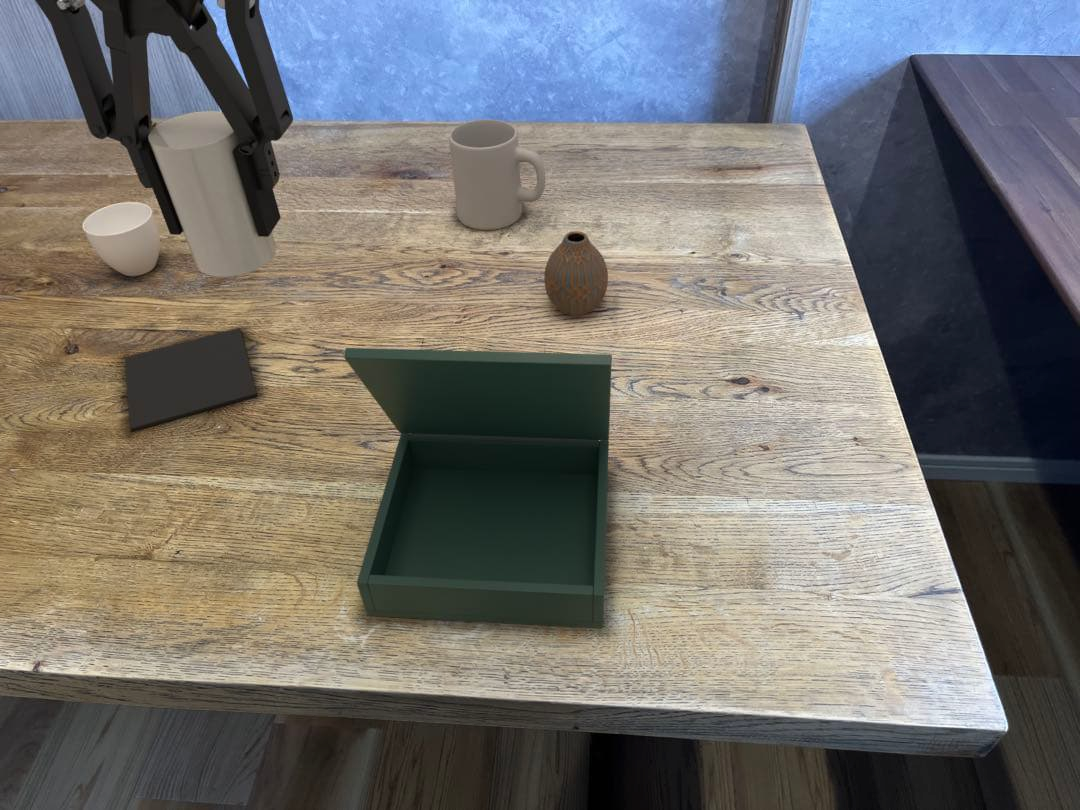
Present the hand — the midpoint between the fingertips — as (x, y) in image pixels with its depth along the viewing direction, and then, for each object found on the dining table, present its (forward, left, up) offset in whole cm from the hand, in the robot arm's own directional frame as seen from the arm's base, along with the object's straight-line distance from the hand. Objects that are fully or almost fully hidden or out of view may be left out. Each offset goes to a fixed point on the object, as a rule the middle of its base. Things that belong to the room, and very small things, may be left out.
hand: (226, 225), depth 60 cm
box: (+3, -22, -23) cm, 32 cm away
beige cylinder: (0, 0, -3) cm, 3 cm away
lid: (+6, -20, -11) cm, 24 cm away
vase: (+33, -7, -23) cm, 41 cm away
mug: (+43, +13, -23) cm, 51 cm away
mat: (-1, +17, -23) cm, 29 cm away
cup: (+7, +42, -23) cm, 49 cm away
